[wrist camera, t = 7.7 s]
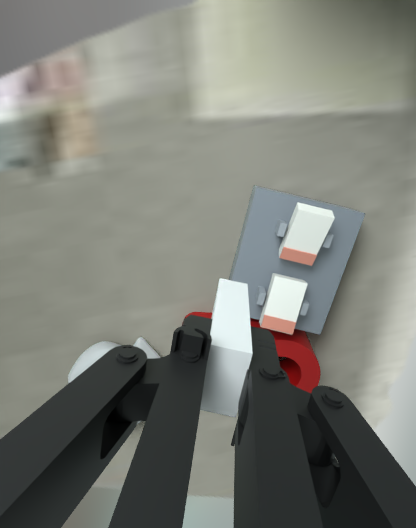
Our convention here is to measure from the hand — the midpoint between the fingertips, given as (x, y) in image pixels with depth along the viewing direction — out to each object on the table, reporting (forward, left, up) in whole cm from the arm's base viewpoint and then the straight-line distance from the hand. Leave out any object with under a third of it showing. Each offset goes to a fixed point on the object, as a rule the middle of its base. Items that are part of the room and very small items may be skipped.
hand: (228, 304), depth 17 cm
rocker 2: (-2, +7, -18) cm, 19 cm away
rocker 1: (+6, +7, -18) cm, 20 cm away
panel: (+2, +7, -25) cm, 26 cm away
